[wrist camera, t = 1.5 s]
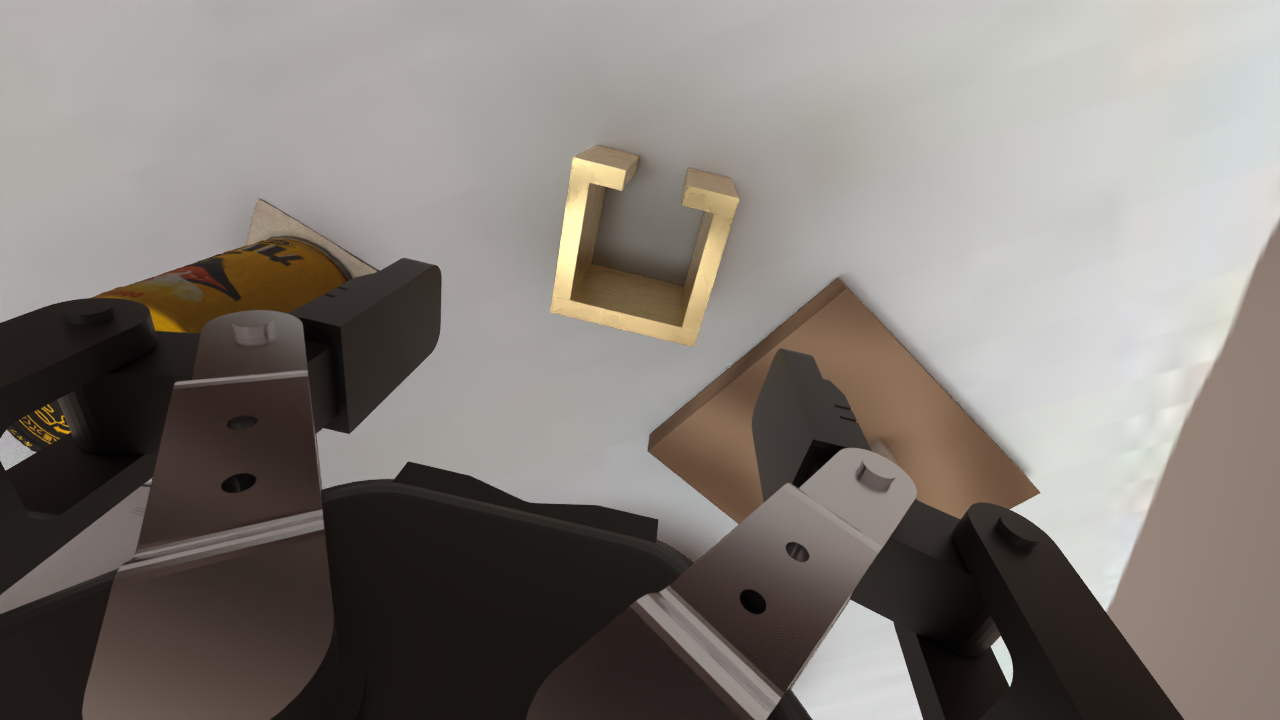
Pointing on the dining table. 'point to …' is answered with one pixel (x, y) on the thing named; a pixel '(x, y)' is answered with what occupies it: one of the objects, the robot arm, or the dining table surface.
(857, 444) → the robot arm
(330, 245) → the condiment
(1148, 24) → the dining table surface
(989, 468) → the keyed stand
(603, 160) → the collar
